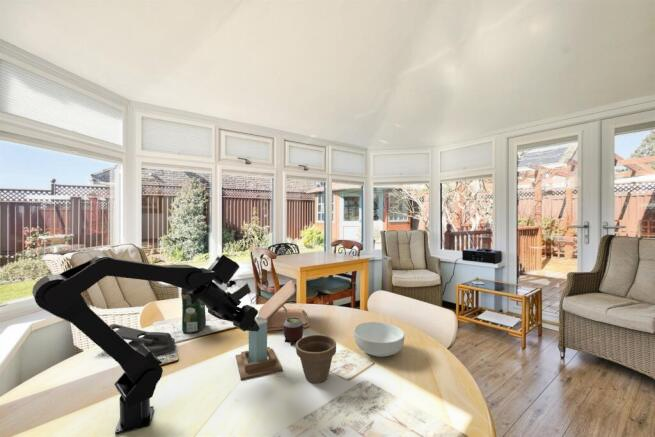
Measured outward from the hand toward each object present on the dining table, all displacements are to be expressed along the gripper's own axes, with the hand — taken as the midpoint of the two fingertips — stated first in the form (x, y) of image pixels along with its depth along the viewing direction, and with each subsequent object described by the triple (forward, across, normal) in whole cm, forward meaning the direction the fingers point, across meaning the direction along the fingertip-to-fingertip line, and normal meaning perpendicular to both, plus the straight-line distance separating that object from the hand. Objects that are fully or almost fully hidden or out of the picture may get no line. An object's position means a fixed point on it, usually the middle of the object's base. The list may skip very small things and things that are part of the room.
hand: (249, 325), depth 89 cm
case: (+31, +21, -12) cm, 40 cm away
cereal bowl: (+34, -24, -16) cm, 44 cm away
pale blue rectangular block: (+11, 0, +6) cm, 12 cm away
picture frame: (+11, 0, +7) cm, 13 cm away
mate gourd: (+23, +3, -5) cm, 24 cm away
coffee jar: (+10, +42, +8) cm, 44 cm away
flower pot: (+16, -19, +2) cm, 25 cm away
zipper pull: (-4, +40, +23) cm, 47 cm away
